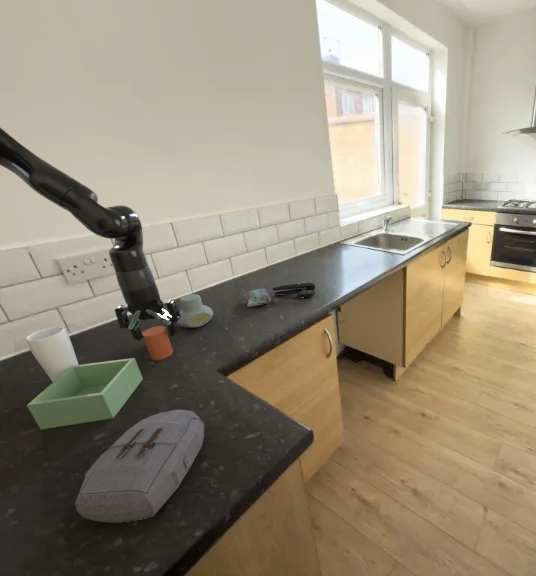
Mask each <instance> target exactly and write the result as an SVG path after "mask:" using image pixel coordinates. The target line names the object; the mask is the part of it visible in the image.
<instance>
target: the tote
mask: <svg viewBox="0 0 536 576" xmlns="http://www.w3.org/2000/svg"><path fill="white" fill-rule="evenodd" d="M143 380H144V377H143V376H142V373H141V371H140V368H139V365H138V363H137V360H136V358H135V357H132V358H124V359H123V358H122V359H116V360H107V361H100V362H93V363H92V362H91V363H85V364H79V365H76V366H71V367H70V368H69V369H68V370H67V371H66V372H64V373H63V374H62V375H61V376H60V377H59V378H58V379H56V380H55V381H54V382H52V383H50V384H49V385H48V386H47V387H46V388H45V389H44V390H43V391H41V392H40V393H39V394H38V395H36V397H35V398H33V399H32V400H31V401H30V402H29V403H28V404H27V405H26V407H27V409H28V410H29V412H30V414H31V415H32V417H33V419H34V421H35V423H36V424H37V426H38V427H39V429H40V430H47V429H53V428H60V427H66V426H72V425H78V424H86V423H91V422H98V421H105V420H110V419H114V418H115V417H116V416H117V414H118V413H119V412H120V411H121V409H123V406H125V404H126V402H127V401H128V400H129V398H130V397H131V396H132V394H133V393H134V392H135V390H136V389H137V388H138V386H139V385H140V384H141V383H142V381H143Z"/></svg>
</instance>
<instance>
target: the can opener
mask: <svg viewBox="0 0 536 576" xmlns="http://www.w3.org/2000/svg"><path fill="white" fill-rule="evenodd" d="M315 290H316V285H315V283H313V282H309V281H306V282H299V281H298V282H297V283H288V284H282V285H281V284H280V285H277V286H274V287H272V291H274V293H275V294H289V295H294V294H297V298H299V297H310V298H313V297H314V295H315V294H316V291H315Z"/></svg>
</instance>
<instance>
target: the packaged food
mask: <svg viewBox="0 0 536 576" xmlns="http://www.w3.org/2000/svg"><path fill="white" fill-rule="evenodd" d="M243 298H245V300H247V305H246V306H247V307H253V308H254V307H258V306H264V304H265V305H269V304H270V303H271V302H272V299H271V297H270V294H269V293H268V292H267V289H266V288H256V289H253V290H250V291H248V292H246V293H245V294H243Z"/></svg>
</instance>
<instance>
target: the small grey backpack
mask: <svg viewBox="0 0 536 576" xmlns="http://www.w3.org/2000/svg"><path fill="white" fill-rule="evenodd" d="M205 425H206V424H205V422H204V421H203V420H202V419H201V417H200V416H198V415H197V413H195V412H194V411H193V410H188V409H187V410H186V409H174V410H168V411H164V412H159V413H156V414H152V415H150V416H148V417H146V418H143V419H141V420H139V421H138V422H137V423H136V424H134V425H132V426H131V427H130V428H128V429H127V430H126V431H125V432H124V433H123V434H122V435H121V436H120V437H118V439H116V440H115V441H114V442H113V443H112V444H111V445H110V446H109V448H108V449H107V450H106V451H104V452H103V453H101V454H100V455H99V457H98V458H97V459H96V461H94V463H93V464H92V465H91V467H90V468H89V469H88V470H87V472H86V473H85V474H84V479H83V482H82V484H81V486H80V490H79V492H78V495H77V497H76V499H75V502H74V505H75V509H76V512H77V513H78V514H79V515H80V516H82V517H83V518H84V519H87V520H90V521H94V522H99V523H103V522H105V523H104V524H111V523H112V524H123V523H122V522H126V523H132V522H131V521H134V522H139V521H138V520H141V521H143V519H144V520H148V519H150V518H154V516H155V515H156V514H157V513H158V512H159V511H160V509H161V508H162V507H163V506H164V505H165V504H166V503H167V501H168V500H169V499H170V498H171V497H172V496H173V494H174V493H175V492H176V491H177V490H178V488H179V487H180V485H181V484H182V482H183V480H184V478H185V476H187V474H188V472H189V470H190V468H191V467H192V466H193V463H194V461H195V459H196V458H197V456H198V454H199V452H200V451H201V449H202V447H203V443H204V439H205V427H206V426H205Z"/></svg>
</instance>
